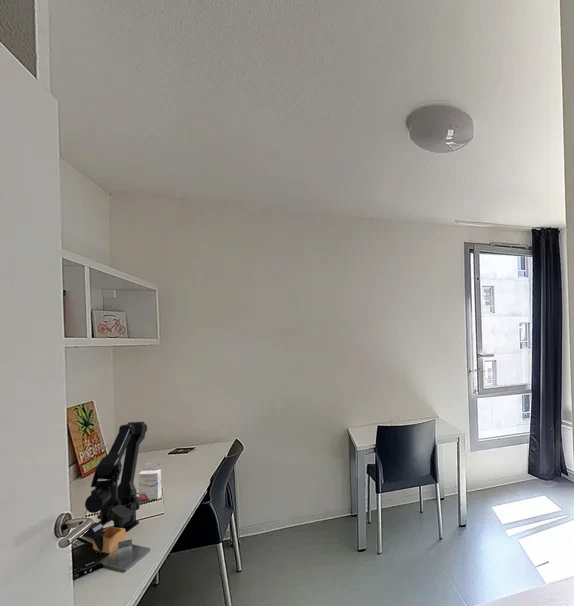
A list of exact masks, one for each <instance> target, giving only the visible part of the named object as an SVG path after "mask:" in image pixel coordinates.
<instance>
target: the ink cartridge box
mask: <svg viewBox="0 0 574 606" xmlns="http://www.w3.org/2000/svg"><path fill="white" fill-rule="evenodd" d="M161 496H162V469H161V462H143V463H142V470H141V471H140V472H139V473H138V498H139V499H140V501H153V500H152V499H158V500H159V499H160V498H161Z"/></svg>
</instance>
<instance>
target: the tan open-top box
mask: <svg viewBox="0 0 574 606" xmlns="http://www.w3.org/2000/svg"><path fill="white" fill-rule="evenodd" d="M103 531H104V532H106V533H105V534H104V535H103V549H102V552H106V553H112V552H113V551H114V550H116V549H117V548H118V542H122V541H126V531H125V529H123V528H118V527H114V525H113V526H112V525H109V526H107V527H106V528H103ZM91 540H92V550H93V549H95V550H98V551H99V549H98V548H97V546H96V544H95V542H94V541H93V539H92V538H91Z"/></svg>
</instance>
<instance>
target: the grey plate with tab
mask: <svg viewBox="0 0 574 606" xmlns="http://www.w3.org/2000/svg"><path fill="white" fill-rule="evenodd" d="M150 552H151V548H150V547H146V546H142V545H137V544H133V539H132V538H131V539H127V540H126V541H122V542H118V548H117V549H116V550H114V551H113V552H112V553H110V554H109V555H106V556H105V557H104V558H102V559H101V560H99V561H100V562H101V563H102V564H103V567H107V568H110V569H113V570H114V569H115V570H118V571H122V572H125V573H126V572H127V571H128V570H129V569H130V568H132V567H133V566H134V565H136V564H137V563H138V562H139V561H141V559H143V558H144V557H145V556H146V555H148V554H149V553H150ZM147 553H148V554H147Z"/></svg>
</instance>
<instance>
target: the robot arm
mask: <svg viewBox="0 0 574 606" xmlns="http://www.w3.org/2000/svg"><path fill="white" fill-rule="evenodd" d="M147 432H148V424H147V423H145V421H130V422H128V423H126V424H122V425H119V428H118V433H117V435H116V437H115V439H114V441H113V443H112V446H111V448H110V450H109V452H108V454H107V455H105V456H103V457H102V458H101V460H100V461H99V463H98V464H97V465H96V468H95V471H94V474H93V477H92V481H91V484H90V487H91V488H94V489H92V490H91V491H90V495H88V497H86V500H85V502H84V507H85V510H87V511H88V512H89V513H92V514H96V513H98V512H99V514H98V515H96V516H97V519H98V520H99V521H97V522H96V521H95V522H94V521H93V522H94V524H93V525H92V526H91V527H90V528H89V530H88V531H87V532H86V533H85V534H84V535H83V536H82V537H84V538H88V539H91V540H92V539H93V541H94V542H95V544H96V546H97V548H98V549H99V551H102V549H103V535H104V534H105V533H106V532H104V531H103V530H104V527H105V526H106V525H108V524H109V523H111V522H113V527H118V528H123V529H125V532H128V531H129V530H131V529H133V527H136V526H137V525H138V524H140V521H139V520H137V514H136V513H137V512H136V511H138V510H140V506H141V505H140V504H141V500H140V499H139V496H137V488H136V486H135V483H134V481H135V476H136V475H135V474H136V469H137V461H138V455H139V451H140V445H141V443H142V442H143V441H144V439H145V437H146V433H147ZM124 454H125V455H124ZM123 456H124V458H123ZM122 458H123V459H124V460H123V464H122V462H121V461H122ZM120 475H121V477H120ZM119 480H120V481H119ZM118 481H119V484H118ZM93 541H92V542H93Z"/></svg>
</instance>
